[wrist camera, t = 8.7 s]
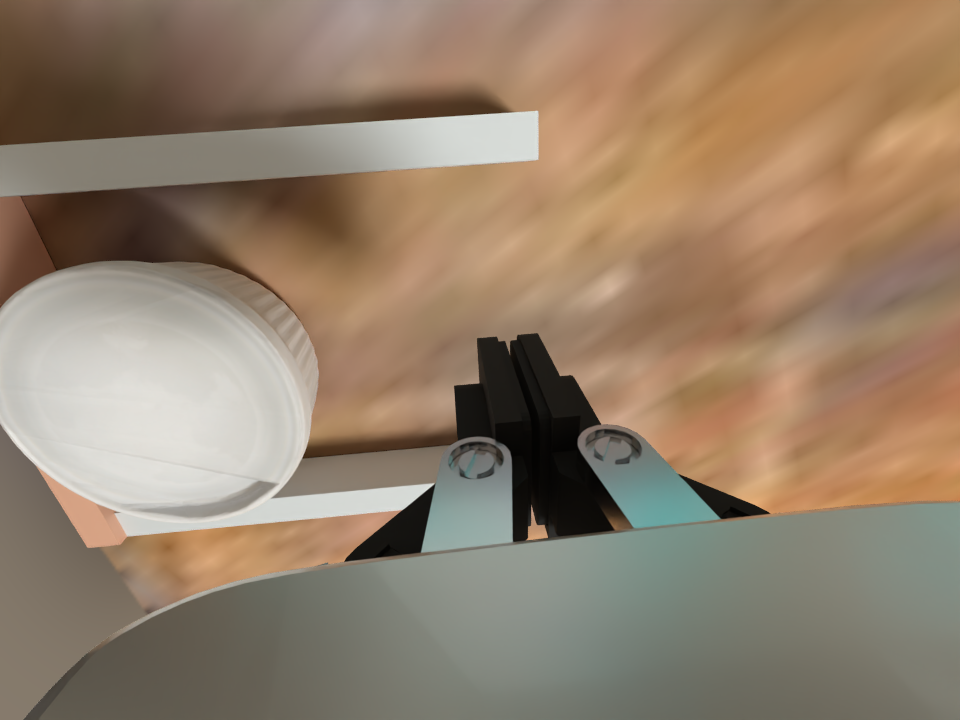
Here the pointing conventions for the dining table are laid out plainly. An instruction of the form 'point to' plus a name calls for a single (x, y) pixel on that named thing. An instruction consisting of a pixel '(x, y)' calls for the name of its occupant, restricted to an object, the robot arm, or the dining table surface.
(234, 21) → the dining table surface
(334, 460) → the bay
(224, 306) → the ramekin
